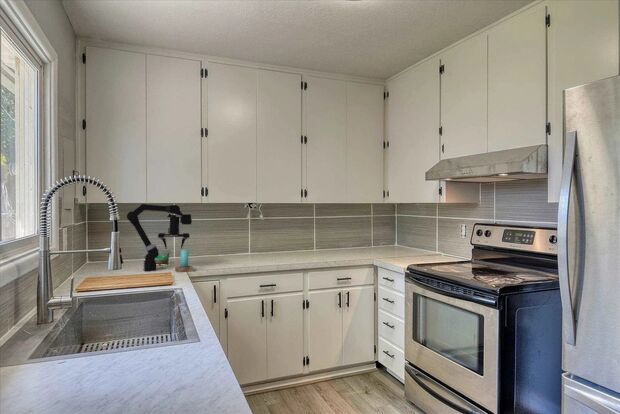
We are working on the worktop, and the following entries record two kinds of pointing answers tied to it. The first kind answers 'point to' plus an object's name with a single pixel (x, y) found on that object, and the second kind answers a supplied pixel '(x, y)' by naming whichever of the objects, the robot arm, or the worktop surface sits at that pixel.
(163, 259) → the food container
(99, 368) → the worktop surface
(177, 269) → the socket plate
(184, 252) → the peg
